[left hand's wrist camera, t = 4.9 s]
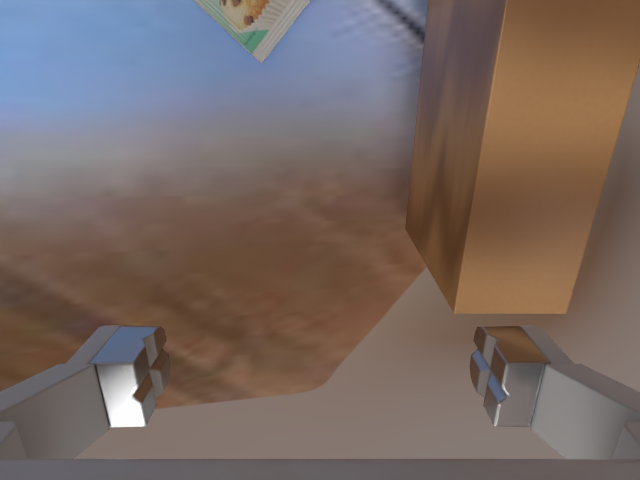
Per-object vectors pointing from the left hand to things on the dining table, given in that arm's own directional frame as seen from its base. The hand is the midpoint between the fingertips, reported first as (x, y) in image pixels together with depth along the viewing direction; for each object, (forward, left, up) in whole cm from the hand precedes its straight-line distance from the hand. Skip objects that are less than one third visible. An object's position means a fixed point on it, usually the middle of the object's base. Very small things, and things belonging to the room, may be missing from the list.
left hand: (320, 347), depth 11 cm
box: (-1, +13, -22) cm, 26 cm away
